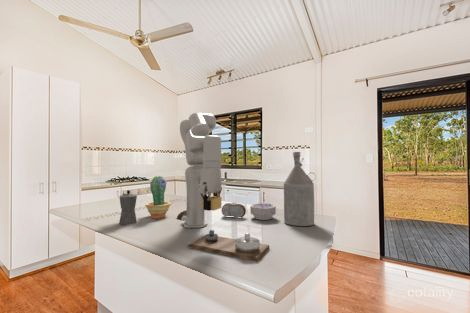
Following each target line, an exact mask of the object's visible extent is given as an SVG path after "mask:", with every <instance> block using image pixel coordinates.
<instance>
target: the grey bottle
mask: <svg viewBox="0 0 470 313" xmlns="http://www.w3.org/2000/svg"><path fill="white" fill-rule="evenodd" d="M292 156H293V164H294V166H293V168H292V170H290V173H289V175H288V176H287V178H286V179H285V181H284V182H283V217H284V218H283V220H284V221H283V222H284V224H286V225H290V226H295V227H296V226H297V227H310V226H313V225H315V189H314V187H315V186H314V185H315V184H314V180H317V179H316V177H317V175H316V174H315V172H309V173H308V174H307V173H306V172H305V171H304V169H303V168H302V166H303V164H302V162H303V160H304V157H302V159H300V158H301V152H300V151H293V152H292ZM310 174H313V175H314V176H315V177H314V179H313V180H312V179H311V177H310V176H309V175H310Z"/></svg>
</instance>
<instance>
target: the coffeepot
mask: <svg viewBox="0 0 470 313" xmlns="http://www.w3.org/2000/svg"><path fill="white" fill-rule="evenodd" d="M137 198H138V195H137V194H135V193H134V194H133V193H131V190H129V189H128V190H126V193H122V194H121V195H119V204H120V209H121V213H120V217H119V222H118V223H119V225H121V226H131V225H134V224H137V222H138V221H137V215H136V205H137Z"/></svg>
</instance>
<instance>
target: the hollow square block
mask: <svg viewBox="0 0 470 313" xmlns="http://www.w3.org/2000/svg"><path fill="white" fill-rule="evenodd" d="M222 199H223V198H222V196H220V197H215V196H213V195H211V196H210V200H211V210H210V211H216V210H220V209H222ZM201 209H203V198H202V201H201Z"/></svg>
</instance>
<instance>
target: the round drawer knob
mask: <svg viewBox="0 0 470 313" xmlns="http://www.w3.org/2000/svg"><path fill="white" fill-rule="evenodd" d="M205 235H206V241H207V242H216V241H218V234H217V233H215V230H214V229H210V230H209V231H208V233H207V234H205Z"/></svg>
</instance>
